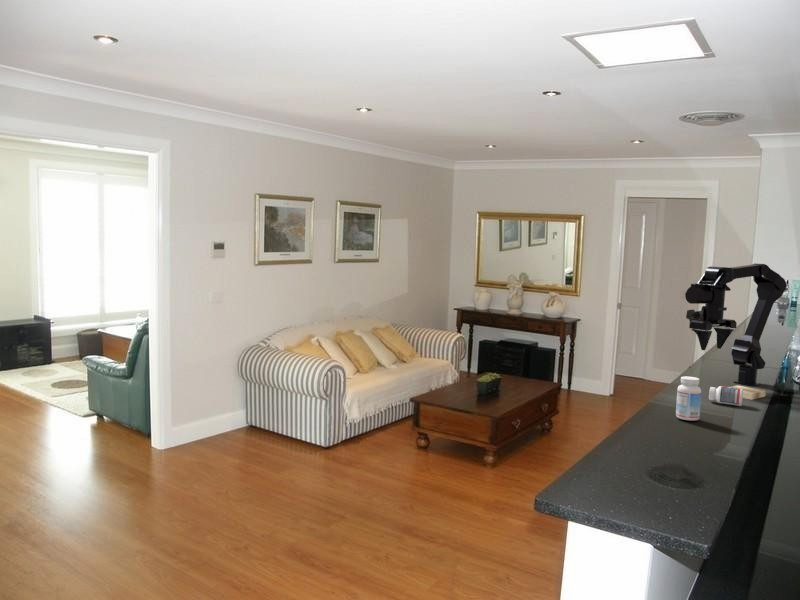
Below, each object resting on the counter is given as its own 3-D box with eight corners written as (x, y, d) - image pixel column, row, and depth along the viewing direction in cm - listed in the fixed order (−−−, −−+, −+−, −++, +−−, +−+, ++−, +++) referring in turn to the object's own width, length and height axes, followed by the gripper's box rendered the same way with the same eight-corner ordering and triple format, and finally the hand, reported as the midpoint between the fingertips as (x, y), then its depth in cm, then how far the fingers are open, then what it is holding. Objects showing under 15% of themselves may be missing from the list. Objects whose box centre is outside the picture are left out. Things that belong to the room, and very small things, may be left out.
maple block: (737, 392, 213) (737, 385, 212) (765, 398, 205) (766, 390, 205) (723, 395, 208) (723, 388, 207) (751, 401, 200) (752, 393, 200)
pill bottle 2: (743, 386, 190) (710, 381, 195) (741, 402, 188) (708, 397, 193) (743, 393, 194) (710, 388, 199) (741, 409, 192) (708, 404, 197)
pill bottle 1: (698, 416, 177) (701, 377, 176) (700, 422, 171) (703, 381, 170) (674, 414, 179) (677, 374, 178) (676, 419, 173) (679, 378, 172)
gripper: (708, 301, 227) (705, 344, 228) (676, 302, 217) (673, 347, 218) (739, 304, 218) (735, 349, 219) (707, 305, 208) (703, 352, 209)
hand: (711, 349), depth 217 cm, fingers open, 9 cm apart
